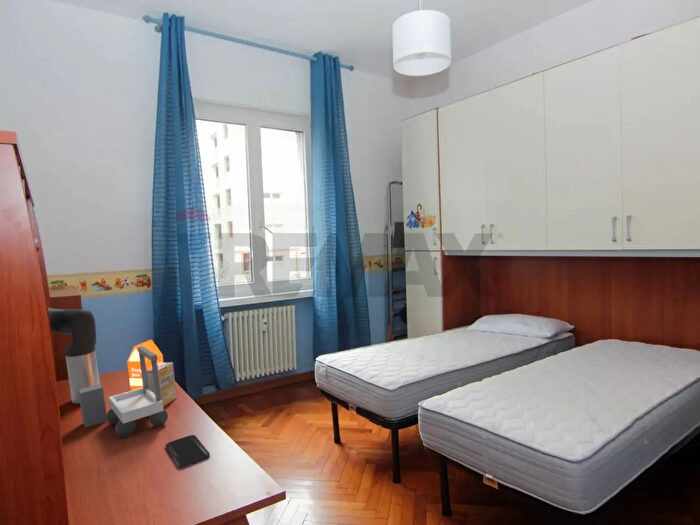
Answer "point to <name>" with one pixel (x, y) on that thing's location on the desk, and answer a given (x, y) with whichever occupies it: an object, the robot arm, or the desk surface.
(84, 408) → the block
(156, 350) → the orange juice
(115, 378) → the desk surface
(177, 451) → the phone
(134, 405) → the trolley
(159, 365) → the supplement box
